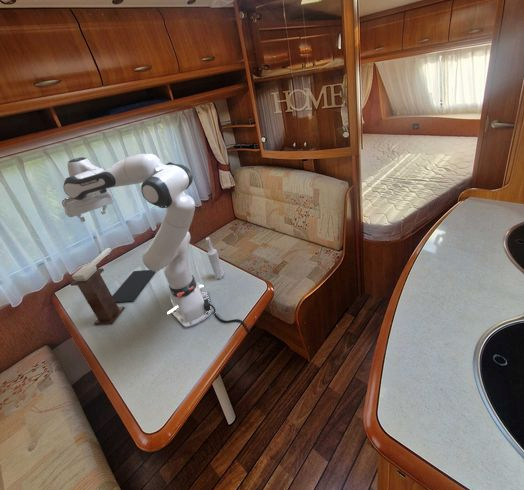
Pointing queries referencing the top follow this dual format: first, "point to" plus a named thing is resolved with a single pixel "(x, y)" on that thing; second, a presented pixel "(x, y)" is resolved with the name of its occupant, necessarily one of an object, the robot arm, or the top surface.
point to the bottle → (214, 260)
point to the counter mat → (133, 286)
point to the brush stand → (99, 298)
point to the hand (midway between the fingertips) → (93, 217)
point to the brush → (90, 267)
